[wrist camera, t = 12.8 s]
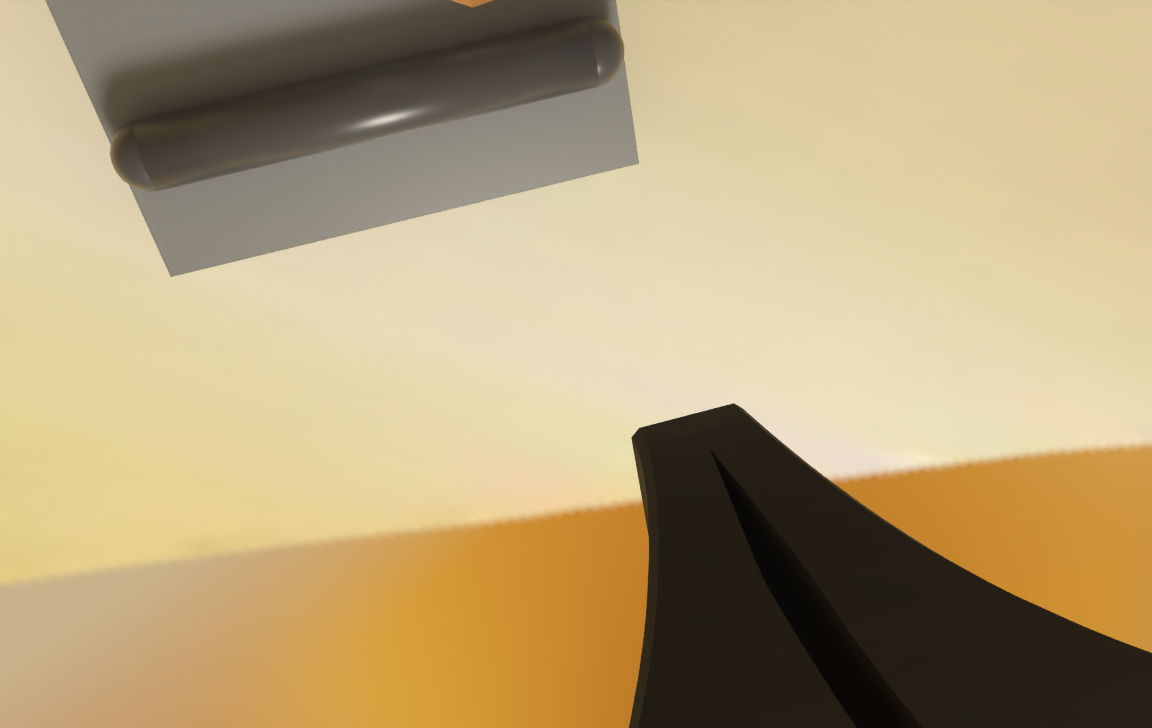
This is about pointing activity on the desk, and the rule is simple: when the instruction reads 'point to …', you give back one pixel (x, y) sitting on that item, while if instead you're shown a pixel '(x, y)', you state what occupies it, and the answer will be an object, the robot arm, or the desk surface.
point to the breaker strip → (342, 110)
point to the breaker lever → (472, 2)
